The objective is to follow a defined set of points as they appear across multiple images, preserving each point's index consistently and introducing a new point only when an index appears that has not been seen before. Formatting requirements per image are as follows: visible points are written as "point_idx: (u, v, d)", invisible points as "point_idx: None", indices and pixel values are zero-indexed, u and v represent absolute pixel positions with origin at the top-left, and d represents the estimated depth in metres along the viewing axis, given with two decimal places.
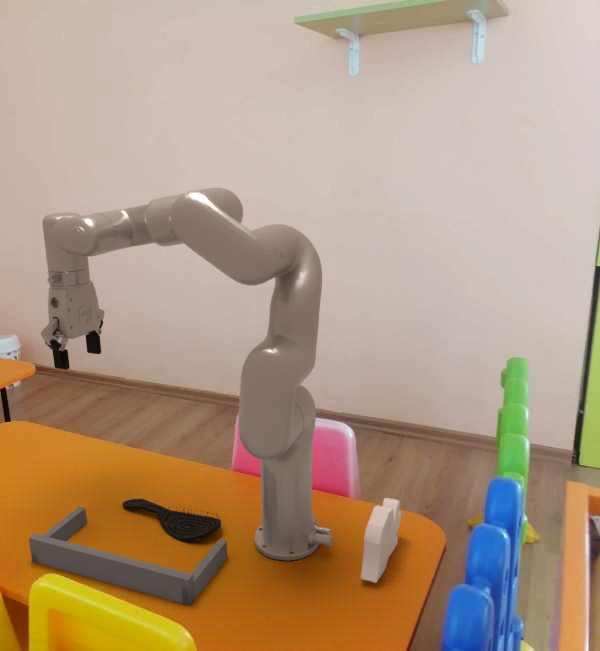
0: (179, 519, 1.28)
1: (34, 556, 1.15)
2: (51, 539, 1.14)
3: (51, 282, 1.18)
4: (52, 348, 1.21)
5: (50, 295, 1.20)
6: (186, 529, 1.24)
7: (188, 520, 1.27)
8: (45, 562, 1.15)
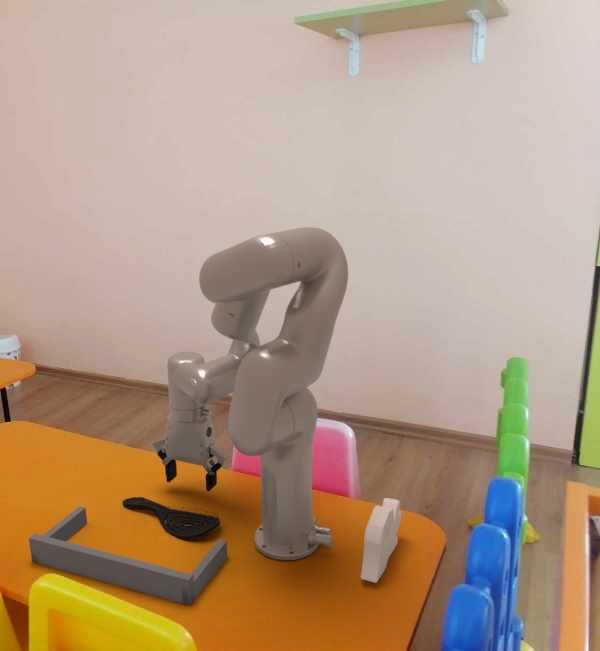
0: (178, 517, 1.28)
1: (34, 556, 1.15)
2: (51, 539, 1.14)
3: (210, 414, 1.30)
4: (215, 471, 1.33)
5: (205, 428, 1.30)
6: (185, 527, 1.25)
7: (187, 518, 1.28)
8: (45, 562, 1.15)
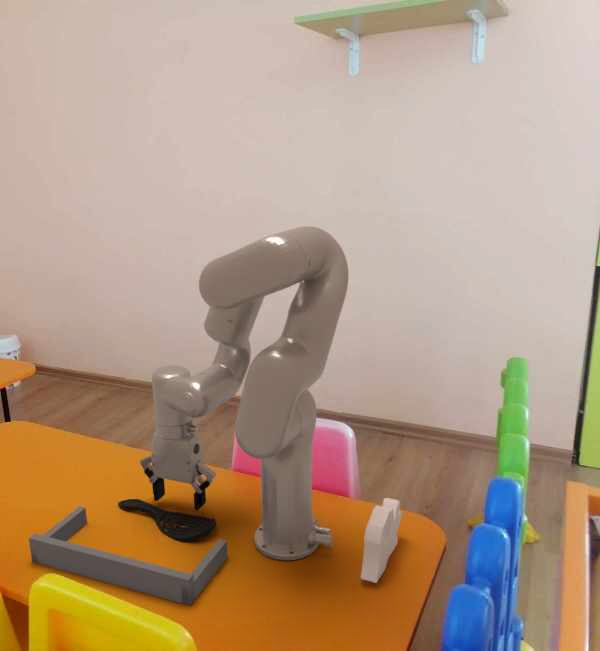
0: (174, 519, 1.28)
1: (34, 556, 1.15)
2: (51, 539, 1.14)
3: (197, 430, 1.25)
4: (204, 489, 1.28)
5: (192, 445, 1.25)
6: (181, 529, 1.24)
7: (183, 520, 1.28)
8: (45, 562, 1.15)
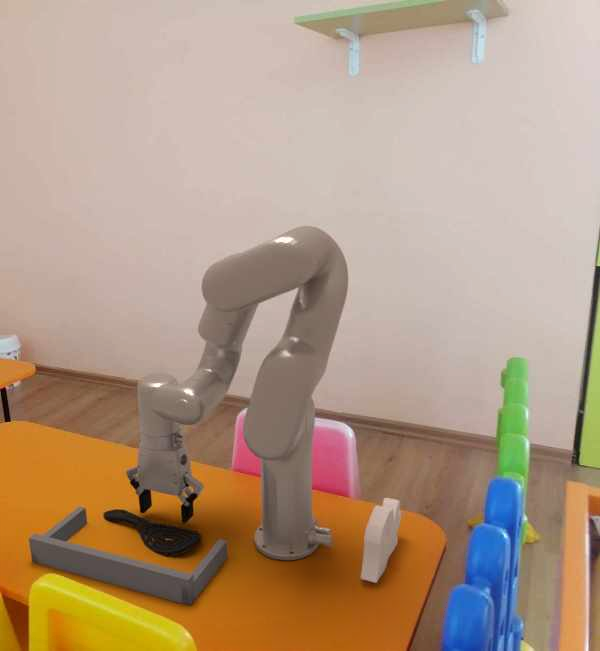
0: (159, 532, 1.24)
1: (34, 556, 1.15)
2: (51, 539, 1.14)
3: (184, 440, 1.21)
4: (191, 502, 1.24)
5: (178, 456, 1.21)
6: (165, 542, 1.20)
7: (168, 533, 1.23)
8: (45, 562, 1.15)
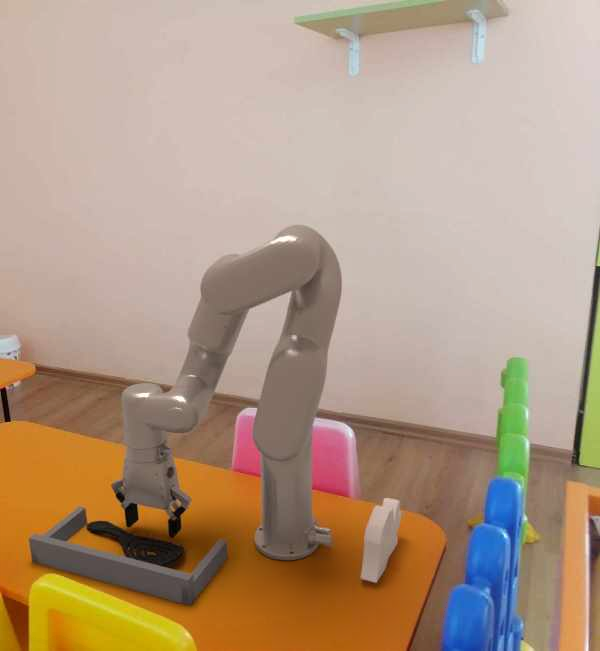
0: (142, 545, 1.20)
1: (34, 556, 1.15)
2: (51, 539, 1.14)
3: (171, 452, 1.16)
4: (179, 516, 1.19)
5: (165, 468, 1.16)
6: (147, 557, 1.16)
7: (151, 546, 1.19)
8: (45, 562, 1.15)
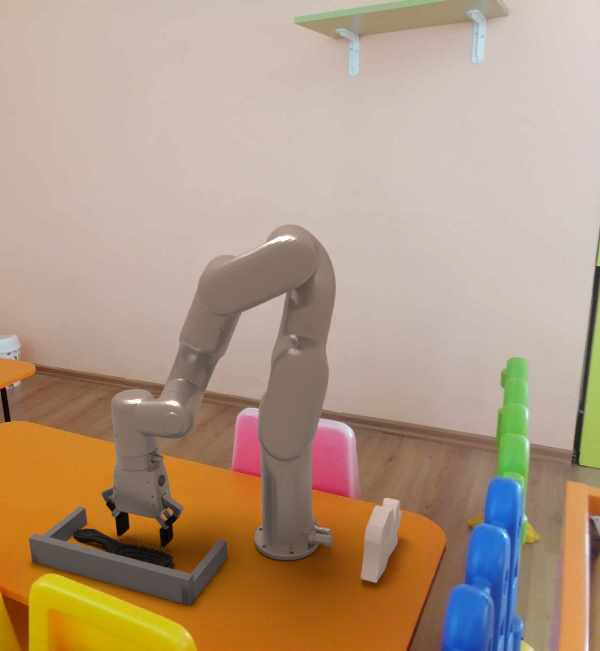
0: (130, 553, 1.17)
1: (34, 556, 1.15)
2: (51, 539, 1.14)
3: (162, 460, 1.14)
4: (171, 524, 1.16)
5: (156, 476, 1.14)
6: None
7: (139, 555, 1.17)
8: (45, 562, 1.15)
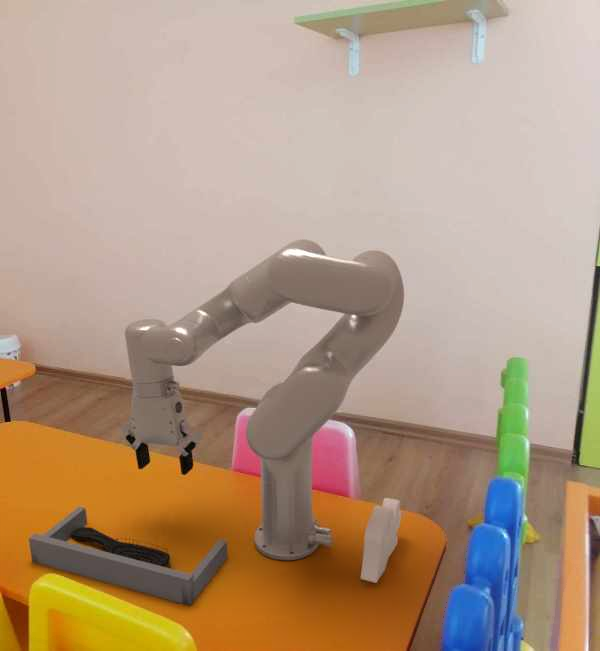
0: (127, 552, 1.18)
1: (34, 556, 1.15)
2: (51, 539, 1.14)
3: (178, 386, 1.16)
4: (190, 451, 1.19)
5: (173, 403, 1.16)
6: None
7: (136, 553, 1.17)
8: (45, 562, 1.15)
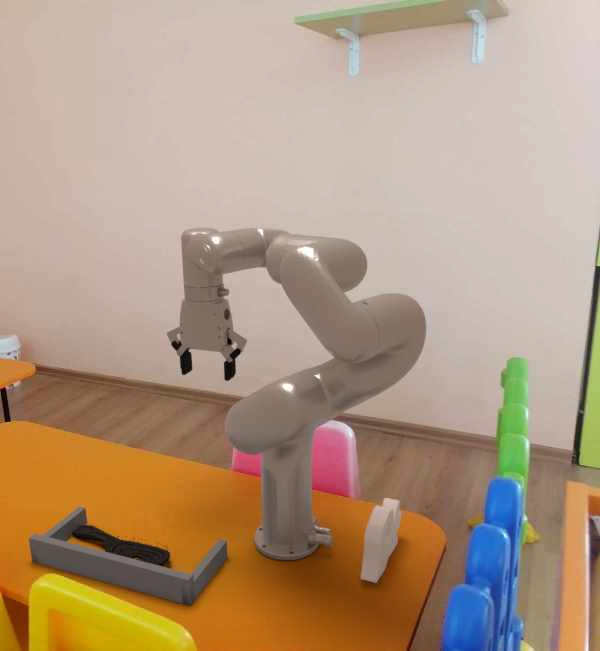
0: (127, 550, 1.18)
1: (34, 556, 1.15)
2: (51, 539, 1.14)
3: (228, 294, 1.21)
4: (234, 358, 1.24)
5: (222, 309, 1.21)
6: None
7: (137, 551, 1.18)
8: (45, 562, 1.15)
